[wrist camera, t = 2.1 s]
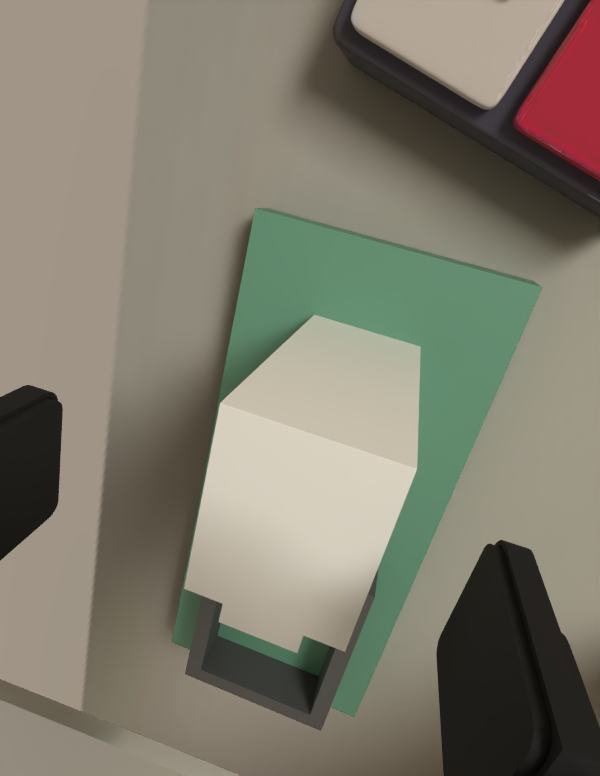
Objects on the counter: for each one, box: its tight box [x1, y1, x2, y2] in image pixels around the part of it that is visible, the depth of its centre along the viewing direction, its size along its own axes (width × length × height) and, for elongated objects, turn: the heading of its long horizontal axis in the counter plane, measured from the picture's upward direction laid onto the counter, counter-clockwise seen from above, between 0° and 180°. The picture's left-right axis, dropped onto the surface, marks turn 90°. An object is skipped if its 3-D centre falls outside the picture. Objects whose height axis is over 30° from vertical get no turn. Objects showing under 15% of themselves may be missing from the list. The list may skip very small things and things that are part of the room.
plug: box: [184, 315, 421, 653], centre depth 15 cm, size 6×4×9 cm
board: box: [172, 208, 542, 731], centre depth 20 cm, size 22×10×4 cm, turn 166°
